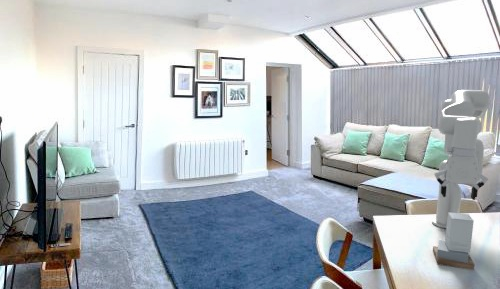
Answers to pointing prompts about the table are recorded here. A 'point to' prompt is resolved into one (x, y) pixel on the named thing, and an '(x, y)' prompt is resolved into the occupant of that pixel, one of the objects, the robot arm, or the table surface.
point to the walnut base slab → (453, 263)
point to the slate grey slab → (451, 253)
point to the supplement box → (459, 232)
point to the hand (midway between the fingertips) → (458, 197)
